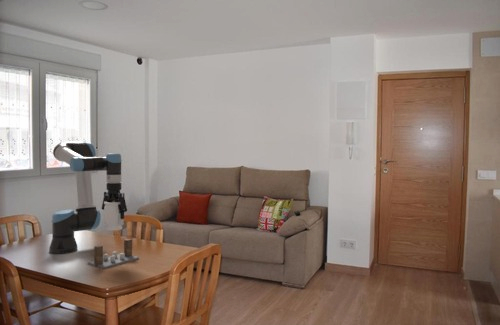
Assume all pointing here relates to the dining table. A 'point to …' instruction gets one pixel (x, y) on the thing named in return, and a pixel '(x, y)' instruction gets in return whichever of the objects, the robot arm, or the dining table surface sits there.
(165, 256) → the dining table surface
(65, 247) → the robot arm
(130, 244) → the frame posts
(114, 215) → the jar
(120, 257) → the peg stand
